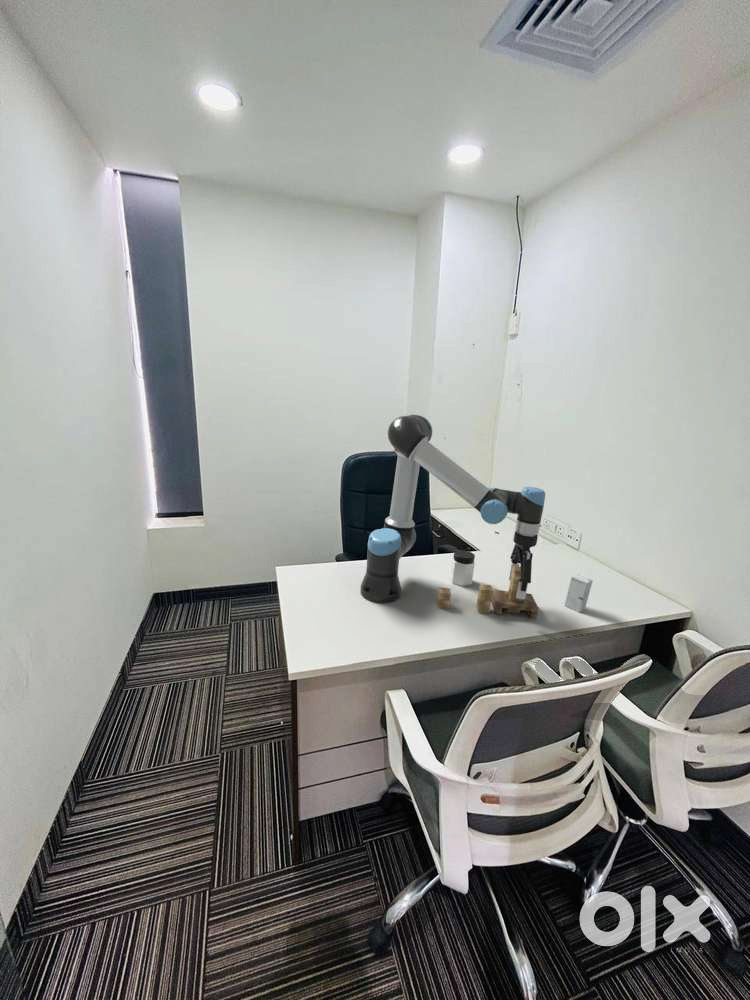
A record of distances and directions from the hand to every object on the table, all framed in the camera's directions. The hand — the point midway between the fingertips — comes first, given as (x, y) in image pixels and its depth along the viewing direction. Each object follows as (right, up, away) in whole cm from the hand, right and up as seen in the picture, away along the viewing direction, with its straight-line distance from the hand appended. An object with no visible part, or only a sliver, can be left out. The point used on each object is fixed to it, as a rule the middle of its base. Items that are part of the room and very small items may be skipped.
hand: (516, 588), depth 146 cm
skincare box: (+24, -9, +7) cm, 26 cm away
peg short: (-26, -6, +2) cm, 27 cm away
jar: (-15, -2, +21) cm, 26 cm away
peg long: (-1, -8, +2) cm, 8 cm away
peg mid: (-12, -8, 0) cm, 14 cm away
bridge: (-1, -8, +2) cm, 8 cm away
